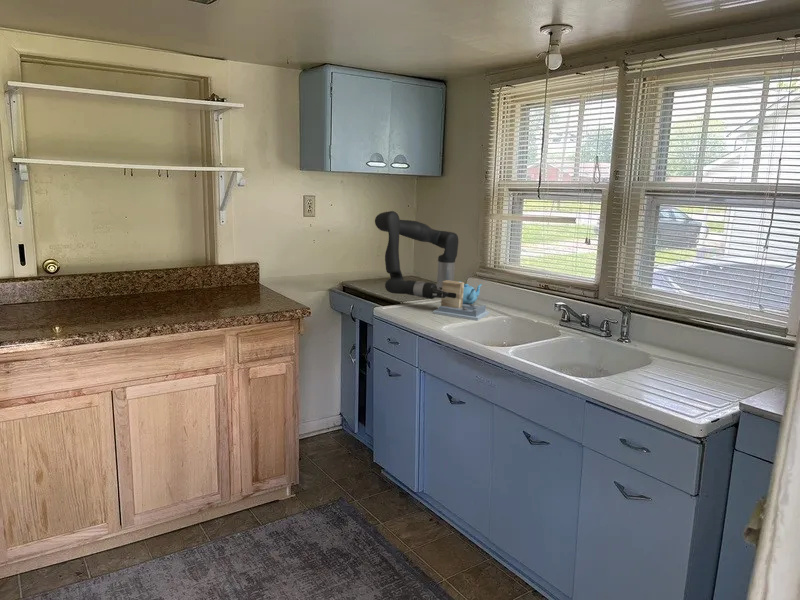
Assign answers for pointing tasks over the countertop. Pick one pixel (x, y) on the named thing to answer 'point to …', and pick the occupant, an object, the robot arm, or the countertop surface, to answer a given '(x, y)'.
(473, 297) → the teapot
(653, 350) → the countertop surface
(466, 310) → the grey stepped platform
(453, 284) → the wooden block
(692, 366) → the countertop surface
